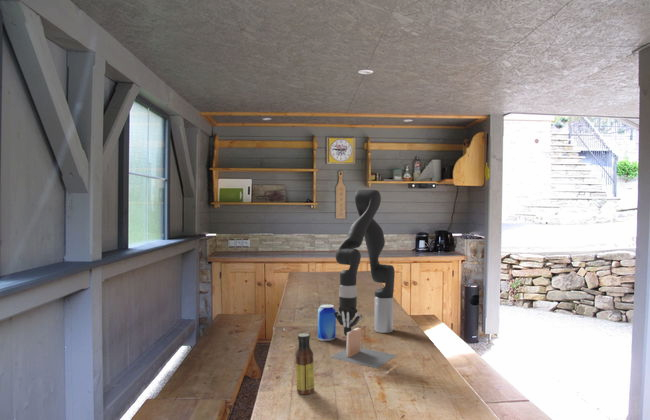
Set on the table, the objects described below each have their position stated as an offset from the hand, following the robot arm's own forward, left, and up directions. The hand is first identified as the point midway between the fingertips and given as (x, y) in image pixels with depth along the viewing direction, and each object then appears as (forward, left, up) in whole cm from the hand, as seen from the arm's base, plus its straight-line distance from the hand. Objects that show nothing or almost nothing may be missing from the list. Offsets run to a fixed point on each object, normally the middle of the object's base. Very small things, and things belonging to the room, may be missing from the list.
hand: (347, 335), depth 197 cm
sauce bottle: (+41, +7, -8) cm, 42 cm away
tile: (0, +3, -7) cm, 8 cm away
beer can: (-12, -18, -8) cm, 23 cm away
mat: (0, +8, -8) cm, 11 cm away
